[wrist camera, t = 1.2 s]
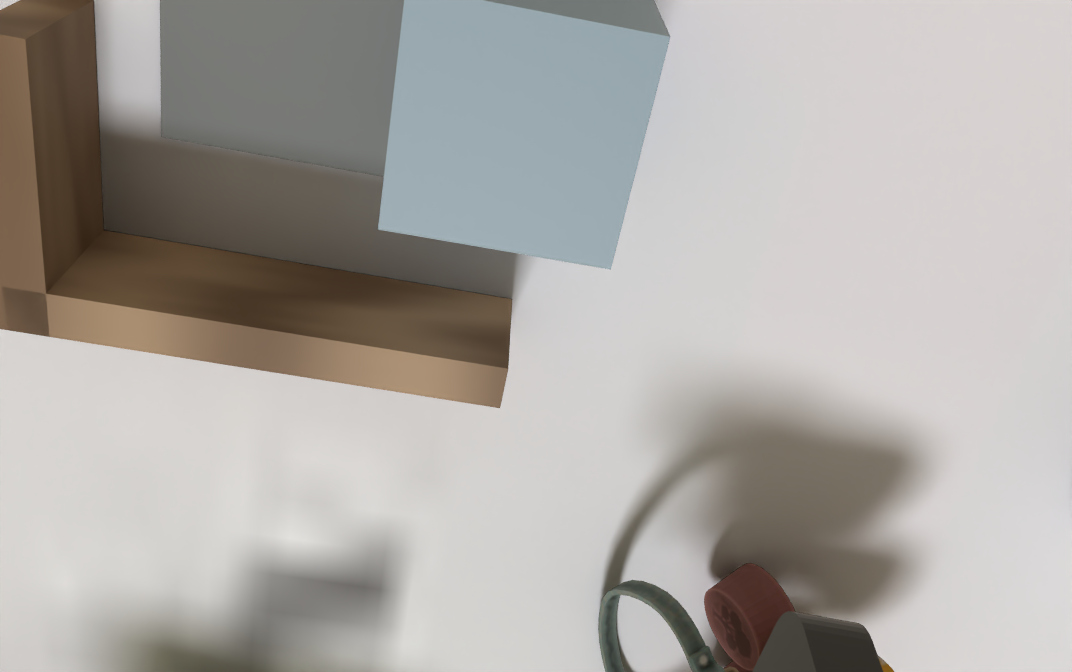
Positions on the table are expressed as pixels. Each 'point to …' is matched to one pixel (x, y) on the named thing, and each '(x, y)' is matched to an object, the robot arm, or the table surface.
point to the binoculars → (732, 610)
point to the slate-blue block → (521, 123)
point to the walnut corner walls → (196, 257)
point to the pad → (282, 77)
